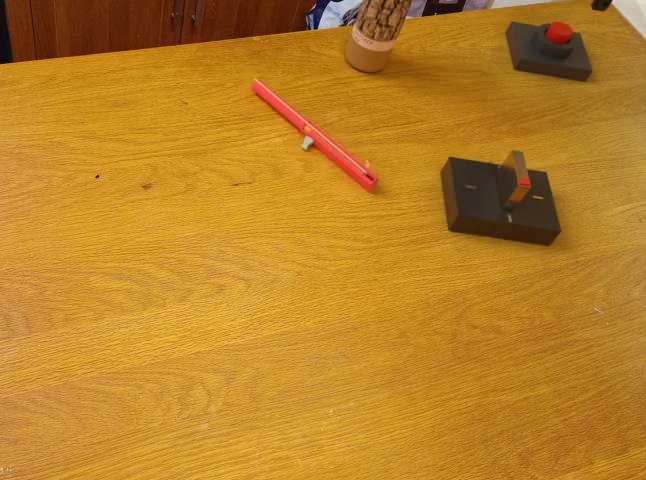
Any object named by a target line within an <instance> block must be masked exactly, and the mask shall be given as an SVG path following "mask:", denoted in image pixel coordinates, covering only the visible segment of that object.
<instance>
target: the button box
mask: <svg viewBox="0 0 646 480" xmlns="http://www.w3.org/2000/svg"><path fill="white" fill-rule="evenodd" d="M551 24H552V23H550V22H548V23H542V24H540V25H537V24H536V25H535V24H531V23H530V24H529V23H525V22H517V21H513V20H512V21H511V22H510V23H509V25H508V26H507V28H506V30H505V38H506V43H507V46H508V51H509V55H510V58H511V61H512V62H511V63H512V66H513V70H514V71H517V72H523V73H528V74H529V73H530V74H535V75H542V76H546V77H554V78H560V79H565V80H571V81H577V82H582V83H586V81H587V80H588V78H589V77H590V76H591V74H592V73H593V72H594V70H593V67H592V64H591V61H590V58H589V56H588V52H587V49H586V46H585V44H584V40H583V37H582V34H581V33H580V32H576V31H573V33H572V35H571V37H570V38H569V40H568V41H567V43H566V44H558V43H555V42H553V41H551V40H549V39H548V38H547V37H546V32H547V30H548V29H549V27H550V25H551Z"/></svg>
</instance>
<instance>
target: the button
mask: <svg viewBox="0 0 646 480" xmlns="http://www.w3.org/2000/svg"><path fill="white" fill-rule="evenodd" d="M573 32H574V30H573V28H572V27H571V26H570V25H569V24H567V23H565V22H562V21H552V23H551V25H550V27H549V29H548V30H547V32H546V37H547V38H548V39H549V40H551V41H553V42H555V43H558V44H566V43H567V41H568V40H569V38H570V37H571V35H572V33H573Z"/></svg>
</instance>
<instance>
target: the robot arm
mask: <svg viewBox="0 0 646 480" xmlns="http://www.w3.org/2000/svg"><path fill="white" fill-rule="evenodd" d="M613 1H614V0H592V2H591V4H590V7H591V9H592V10H593V11H597V12H605V11H607V10H608V9H609V7H610V6H611V4H612V2H613Z"/></svg>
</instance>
